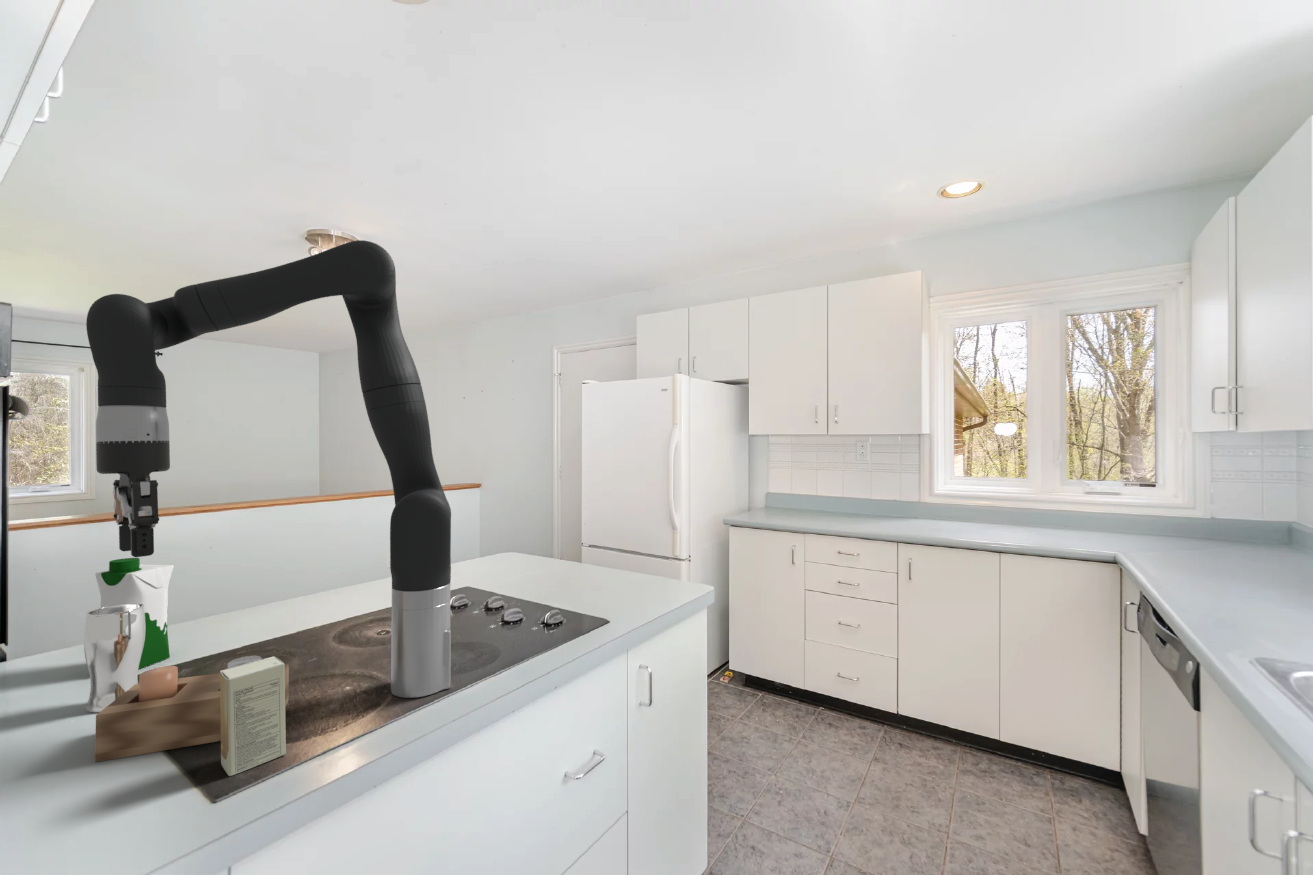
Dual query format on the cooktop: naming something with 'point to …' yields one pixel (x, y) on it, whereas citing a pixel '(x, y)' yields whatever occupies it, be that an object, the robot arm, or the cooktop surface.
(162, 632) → the milk carton
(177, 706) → the walnut block
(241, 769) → the skincare box
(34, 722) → the cooktop surface
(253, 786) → the cooktop surface
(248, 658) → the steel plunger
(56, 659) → the cooktop surface
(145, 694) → the tan rounded oval piece
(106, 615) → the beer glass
